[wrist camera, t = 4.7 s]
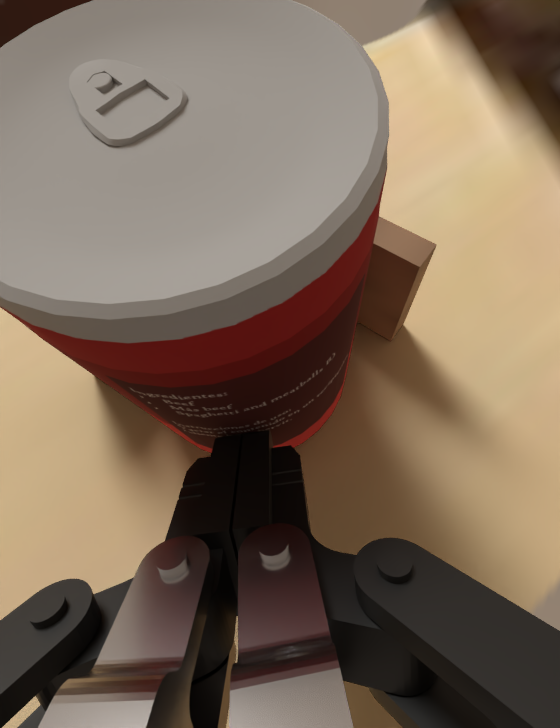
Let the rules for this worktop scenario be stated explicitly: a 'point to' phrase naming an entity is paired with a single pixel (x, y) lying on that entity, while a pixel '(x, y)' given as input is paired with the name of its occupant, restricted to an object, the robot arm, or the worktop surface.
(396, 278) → the v-block stop
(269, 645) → the robot arm
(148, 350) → the canned food
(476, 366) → the worktop surface
